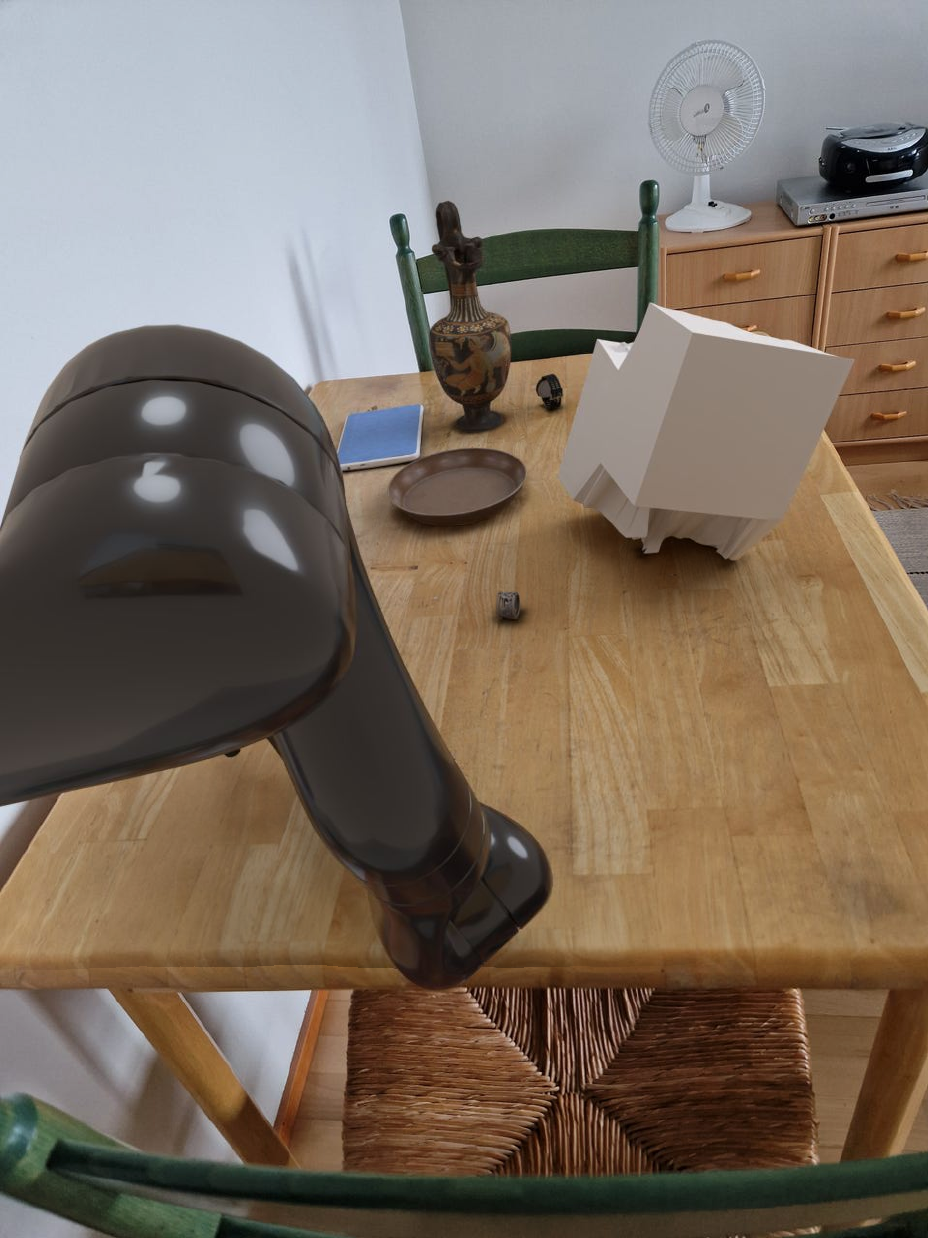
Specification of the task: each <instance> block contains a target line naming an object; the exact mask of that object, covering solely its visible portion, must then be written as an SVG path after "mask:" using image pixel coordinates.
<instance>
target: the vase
mask: <svg viewBox="0 0 928 1238" xmlns="http://www.w3.org/2000/svg"><path fill="white" fill-rule="evenodd" d="M435 220H436V222H435V223H436V230H437V234H438V239H439V241H438V242H437V243H433V244H432V246H431V252H432V253H433V254H434V256H436V258H437V261H439V262H441V263H443V265H444V270H445V277H446V282H447V287H448V293H449V305H450V308H449V309H450V310H449V313H448V314H447V315H446V316H444V317H442V318H440V319H439V320H437V321H436V322H435V323H434V324H432V326H430V329H429V334H428V346H429V352H430V358H431V363H432V366H433V370H434V372H435V375H436V378H437V380H438V382H439V384H440V386H441V388H442V390H443V392H444V393H445V394H446V395H447V397H448V398H449V399H451V400H452V401H454V402H455V403H457V404H459V405H460V406H462V408H463V415H462V416H460V417H459V418H458V419H456V421H455V428H456V429H457V430H459V431H461V432H465V433H466V432H467V433H478V432H479V433H481V432H486V431H490V430H493V429H495V428H497V427H499V426H500V425H501V424H502V423H503V420H504V419H503V417H502V415H501V414H500V413H499V412H497V411H495V410H491V405H492V402H493V401H494V400H495V399H496V398H497V397H499V396H500V395H501V393H502V392H503V391H504V389H505V386H506V384H507V381H508V377H509V375H510V368H511V361H512V333H511V327H510V324H509V321H508V320H507V319H506V318H505V317H504V316H503V315H501V314H499V313H496V312H492V311H488V310H486V309H485V308H484V307H483V305H482V304H481V300H480V297H479V292H478V286H477V285H478V284H477V276H476V275H477V274H476V270H478V269H480V268H481V267H483V265H484V264H485V257H484V253H483V251H482V250H481V249H480V248H481V247H483V245H484V240H483V239H482V237H480V236H475V237H472V238H471V237H466V236H465V235H464V233H463V232H462V231H463V229H462V224H461V217H460V212H459V209H458V207H457V206H456V204H455V203H454V202H452V201H451V200H446V201H443V202H439V203H438V204H437V206H436V208H435Z"/></svg>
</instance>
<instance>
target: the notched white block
mask: <svg viewBox="0 0 928 1238" xmlns="http://www.w3.org/2000/svg"><path fill="white" fill-rule="evenodd" d="M855 361H856V359H855V358H854V357H852V358H849V357H842V356H838V355H835V354H830V353H827V352H824V351H822V350H820V349H816V348H814V347H811V346H809V345H807V344H803V343H799V342H797V341H794V340H791V339H780V338H777V337H774V336H773V337H772V336H768V335H761V334H758V333H754V332H751V331H748V330H745V329H742V328H740V327H737V326H735V325H732V324H731V323H729V322H725V321H724V320H722V321H720V320H715V319H711V318H708V317H703V316H700V315H696V314H693V313H690V312H685V311H682V310H677V309H676V310H675V309H671V308H666V307H663V306H661V305H657V304H656V303H653V302H648V306H647V309H646V312H645V314H644V317H643V319H642V323H641V325H640V328H639V330H638V333H637V335H636V337H635V339H634V341H632V342H629V343H628V342H627V343H626V342H625V341H623V342H618V341H612V340H611V341H610V340H605V339H600V338H597V339H596V342H595V345H594V349H593V352H592V356H591V359H590V361H589V362H590V363H589V366H588V370H587V373H586V377H585V380H584V383H583V386H582V390H581V393H580V396H579V401H578V404H577V408H576V411H575V414H574V418H573V422H572V424H571V428H570V431H569V435H568V439H567V442H566V446H565V449H564V452H563V455H562V458H561V462H560V465H559V469H558V473H557V479H558V480H559V482H560V484H561V485H562V487H563V488H564V491H566V493H567V495H568V496H569V497H570V498H571V500H572V501H574V502H577V503H579V504H581V505H582V506H583V508H585V509H593V510H595V511H597V512H599V513H601V514H602V515H603V517H605V518H606V520H608V521H609V522H610V523H611V524H612V525H613V526H614V527H615V529H616V530H617V531H618V532H619V533H620V534H621V535H622V536H623V537H625V538H627V539H629V538H632V540H633V541H634V540H635V541H636V540H639V539H641V542H642V545H643V546H642V550H641V551H644V550H645V551H644V552H643V554H653V553H654V554H656V553H659V552H660V548H661V546H662V543H663V541H665V539H666V538H669V537H675V538H676V539H691V540H692V541H694V542H695V543H698V544H700V545H703V546H710V547H713V548H715V549H717V550H716V551H715V552H716V553H717V554H719V555H721V556H722V557H723V558H724V560H727V559H729V560H730V561H738V560H740V559H741V558H742V557H743V556H744V555H746V554H747V553H748V552H749V551H750V550H751V549H753V548H754V547H755V546H756V545H757V544H758V543H760V542H761V541H762V540H763V539H765V537H767V535H768V534H770V533H771V532H772V531H773V530H774V529H776V528H777V527H778V526H779V525H780V524H782V522H783V521H784V519H785V517H786V515H787V512H788V510H789V508H790V506H791V504H792V502H793V498H794V497H795V494H796V493H797V490H798V488H799V485H800V483H801V481H802V480H803V479H802V478H803V476H804V474H805V472H806V470H807V468H808V466H809V463H810V461H811V459H812V456H813V454H814V452H815V450H816V448H817V445H818V443H819V441H820V438H821V437H822V434H823V432H824V430H825V428H826V426H827V423H828V421H829V419H830V416H831V414H832V412H833V410H834V408H835V405H836V403H837V401H838V398H839V396H840V394H841V392H842V390H843V387H844V386H845V383H846V380H847V379H848V376H849V374H850V372H851V369H852V367H853V365H854V363H855Z"/></svg>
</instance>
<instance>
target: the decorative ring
mask: <svg viewBox="0 0 928 1238" xmlns="http://www.w3.org/2000/svg"><path fill="white" fill-rule="evenodd" d="M506 603H507V604H506ZM495 606H496V607H495V608H496V615H497V618H498V619H500V620H502V619H503V618H505V619H511V620H513V619H514V620H518V618H519V615H520V611H521V598H520V592H518V591H517V590H516V591H505V592H504V591H503V590H498V591H497V596H496V605H495Z"/></svg>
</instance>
